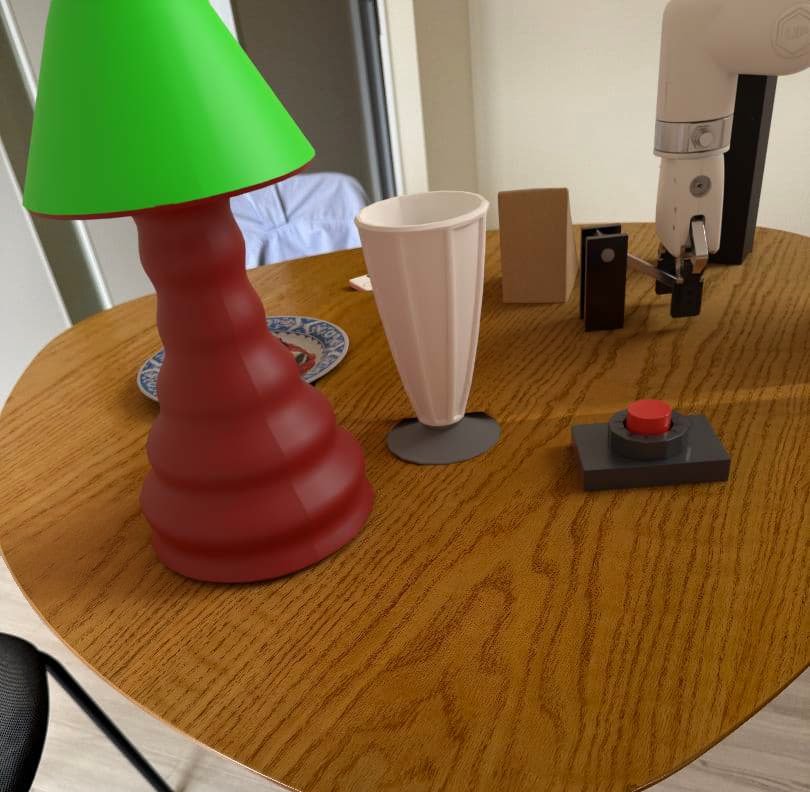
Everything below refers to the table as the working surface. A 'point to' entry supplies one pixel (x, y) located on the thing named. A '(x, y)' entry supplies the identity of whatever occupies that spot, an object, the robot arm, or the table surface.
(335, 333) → the ceramic plate
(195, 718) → the table surface
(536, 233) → the sandwich container
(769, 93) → the tall black pillar
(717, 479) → the control block
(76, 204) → the table lamp
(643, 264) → the lever
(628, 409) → the button
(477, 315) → the cup
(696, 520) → the table surface
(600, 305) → the bracket
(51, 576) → the table surface
